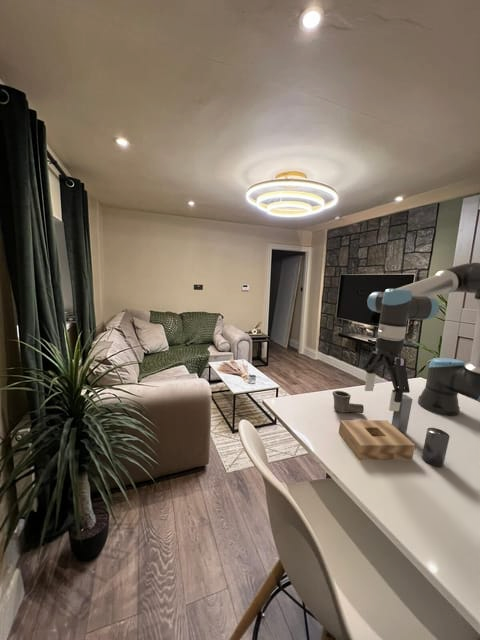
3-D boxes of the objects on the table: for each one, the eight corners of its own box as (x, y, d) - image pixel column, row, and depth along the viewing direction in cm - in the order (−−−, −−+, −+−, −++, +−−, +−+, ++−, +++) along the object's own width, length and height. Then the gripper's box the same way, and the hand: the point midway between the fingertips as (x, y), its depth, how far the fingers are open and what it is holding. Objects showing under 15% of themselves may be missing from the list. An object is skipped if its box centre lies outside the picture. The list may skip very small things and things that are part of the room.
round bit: (433, 455, 86) (439, 427, 84) (447, 467, 80) (454, 438, 79) (417, 455, 85) (422, 427, 84) (431, 467, 80) (437, 438, 78)
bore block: (385, 432, 97) (387, 420, 96) (412, 459, 83) (415, 445, 82) (338, 432, 95) (340, 420, 94) (358, 459, 82) (360, 445, 81)
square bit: (399, 428, 100) (405, 394, 98) (406, 434, 97) (412, 399, 94) (390, 428, 100) (396, 394, 98) (397, 433, 97) (403, 399, 94)
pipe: (363, 417, 107) (366, 399, 105) (331, 412, 109) (333, 395, 108) (360, 410, 113) (362, 393, 111) (329, 405, 115) (331, 389, 114)
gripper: (358, 328, 94) (350, 383, 98) (407, 348, 70) (394, 420, 74) (377, 329, 95) (369, 384, 99) (432, 349, 71) (419, 420, 74)
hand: (380, 399), depth 86 cm, fingers open, 13 cm apart
